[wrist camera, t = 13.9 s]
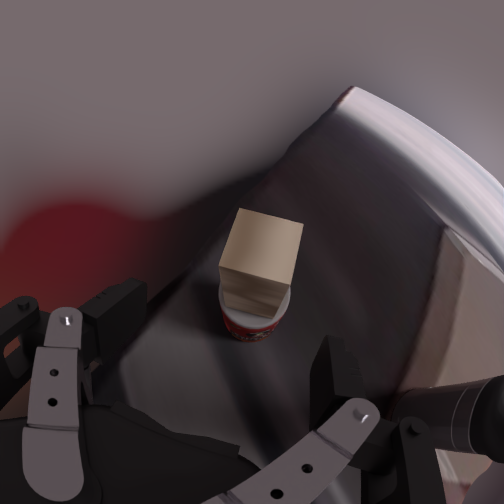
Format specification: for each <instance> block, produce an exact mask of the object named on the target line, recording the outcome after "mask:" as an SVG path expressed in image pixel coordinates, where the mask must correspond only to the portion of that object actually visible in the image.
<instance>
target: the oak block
mask: <svg viewBox="0 0 504 504" xmlns="http://www.w3.org/2000/svg"><path fill="white" fill-rule="evenodd" d="M302 229H303V224H300V223H297V222H293V221H289V220H285V219H281V218H278V217H274V216H270V215H266V214H262V213H258V212H254V211H250V210H245V209H241V208H239V211H238V214H237V216H236V219H235V222H234V224H233V227H232V230H231V232H230V235H229V238H228V241H227V243H226V246H225V249H224V252H223V254H222V257H221V260H220V263H219V272H220V277H221V283H222V289H223V295H224V301H225V306H227V307H231V308H234V309H238V310H241V311H245V312H248V313H252V314H256V315H259V316H263V317H267V318H271V319H273V318H274V317H275V315H276V313H277V311H278V309H279V307H280V305H281V303H282V301H283V299H284V297H285V295H286V293H287V291H288V288H289V286H290V284H291V280H292V275H293V271H294V266H295V262H296V257H297V253H298V248H299V243H300V239H301V234H302Z"/></svg>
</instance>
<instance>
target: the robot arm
mask: <svg viewBox="0 0 504 504" xmlns="http://www.w3.org/2000/svg"><path fill="white" fill-rule="evenodd" d="M146 304H147V284H146V283H145V282H142V281H140V280H137V279H134V278H129V279H128V280H126V281H125V282H123V283H122V284H117V285H114V286H110V287H108V288H107V289H105V290H104V291H102V293H99V294H98V295H96V297H93V298H92V299H90V300H89V301H87V302H86V303H85V304H83V305H82V306H80V307H79V308H77V309H75V308H72V307H61V308H58V309H56V310H54V311H53V312H52V313H48V312H44V311H40V310H39V307H38V302H37V300H36V299H35V298H33V297H30V296H21V297H18V298H16V299H14V300H12V301H11V302H9V303H8V304H6V305H5V306H3V307H2V308H0V411H1V409H2V408H3V407H4V406H5V405H6V404H7V403H8V402H9V401H10V399H11V398H12V397H13V396H14V395H15V394H16V393H17V392H18V391H19V390H20V389H21V388H22V387H23V385H25V384H26V383H27V382H28V381H29V379H30V378H32V379H31V386H30V396H29V407H28V416H26V417H19V418H13V419H4V420H0V504H310V503H311V502H312V501H313V500H314V499H315V498H316V497H317V496H318V495H319V494H320V493H321V492H322V491H323V490H324V489H325V488H326V487H327V486H328V485H329V484H330V483H331V482H332V481H333V480H334V479H335V478H336V477H337V475H338V474H339V473H340V472H341V471H342V470H343V469H344V468H345V466H346V465H349V466H352V467H355V468H358V469H361V504H446V499H445V493H444V488H443V482H442V477H441V473H440V468H439V464H438V460H437V455H436V451H435V449H441V450H447V451H454V452H462V453H472V454H481V455H487V456H488V457H489V458H490V459H491V460H493V461H495V462H498V463H504V375H501V376H497V377H492V378H488V379H483V380H478V381H473V382H467V383H461V384H454V385H447V386H439V387H429V388H419V389H414V390H411V391H409V392H407V393H406V394H405V395H403V396H402V397H401V399H400V400H399V401H398V403H397V404H396V406H395V408H394V411H393V414H392V420H391V421H388V420H385V419H383V418H381V417H380V413H379V410H378V409H377V407H376V406H375V405H374V404H373V403H371V402H370V401H368V400H367V398H366V394H365V389H364V385H363V381H362V377H361V372H360V370H359V369H360V368H359V364H358V360H357V359H356V357H355V356H354V355H353V353H352V352H349V351H346V349H345V344H344V340H343V339H342V338H338V337H333V336H329V335H326V336H325V337H324V339H323V341H322V343H321V346H320V348H319V350H318V352H317V355H316V357H315V359H314V361H313V364H312V367H311V370H310V424H309V433H308V434H307V435H306V436H305V437H304V438H302V439H301V440H300V441H299V442H298V443H296V444H295V445H294V446H293V447H291V448H290V449H289V450H288V451H286V452H285V453H284V454H282V455H281V456H280V457H279V458H277V459H276V460H275V461H273V462H272V463H270V464H269V465H268V466H266V467H265V468H263V469H262V470H261V469H260V468H259V467H257V466H256V465H255V464H254V463H252V462H251V461H249V460H248V459H246V458H244V457H243V456H241V455H239V454H238V452H239V448H240V446H238V445H234V444H230V443H227V442H223V441H220V440H216V439H213V438H210V437H204V436H196V435H188V434H181V433H175V432H172V431H170V430H168V429H166V428H165V427H163V426H162V425H160V424H159V423H158V422H156V421H155V420H153V419H152V418H150V417H149V416H148V415H146V414H145V413H143V412H141V411H139V410H137V409H134V408H132V407H130V406H128V405H126V404H124V403H122V402H120V401H118V400H117V401H116V402H115V403H114V405H113V406H112V407H110V406H105V405H97V404H93V398H92V385H91V368H90V363H91V362H92V361H93V360H94V361H96V362H97V363H99V364H101V365H103V364H104V363H105V362H106V361H107V360H108V359H109V358H110V357H111V356H112V355H113V354H114V353H115V352H116V351H117V349H118V348H119V347H120V346H121V345H122V344H123V343H124V342H125V341H126V340H127V339H128V338H129V337H130V336H131V335H132V334H133V333H134V332H135V331H136V330H137V329H138V328H139V327H140V326H141V325H142V323H143V321H144V319H145V316H146ZM17 336H18V339H19V342H20V346H19V347H18V348H17V349H15V350H14V351H13V352H12V353H11V354H10V355H8V356H7V357H6V358H4V355H3V352H4V348H5V346H6V345H7V344H8V343H10V342H11V341H12V340H13V339H14V338H16V337H17Z"/></svg>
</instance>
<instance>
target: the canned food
mask: <svg viewBox="0 0 504 504" xmlns="http://www.w3.org/2000/svg"><path fill="white" fill-rule="evenodd" d="M289 300H290V286H289V288H288V291H287V293H286V295H285V297H284V299H283V301H282V303H281V305H280V307H279V309H278V311H277V313H276V315H275V317H274V318H273V319H271V318H267V317H263V316H259V315H256V314H252V313H248V312H245V311H241V310H238V309H234V308H231V307H227V306H225V301H224V295H223V289H222V283H221V281H220V285H219V302H220V307H221V310H222V314H223V318H224V322H225V324H226V327H227V329H228V330H229V332H230V333H231V334H232V335H233V336H234V337H236V338H237V339H239V340H242V341H245V342H257V341H261V340H263V339H265V338H266V337H268V336H269V335H270V334H271V333H272V332H273V330H274V329H275V327H276V326H277V324H278V323H279V321H280V320H281V318H282V316H283V315H284V313H285V311H286V309H287V307H288V304H289Z"/></svg>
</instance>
